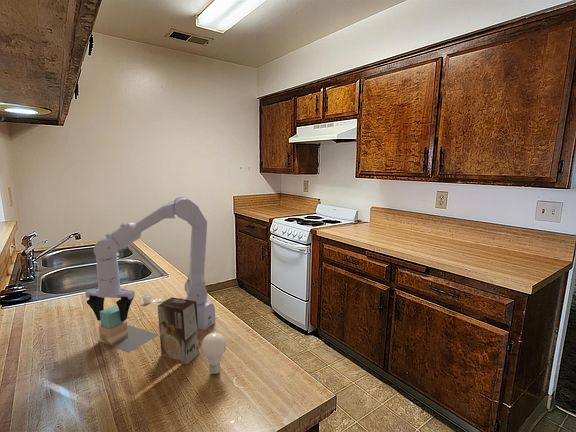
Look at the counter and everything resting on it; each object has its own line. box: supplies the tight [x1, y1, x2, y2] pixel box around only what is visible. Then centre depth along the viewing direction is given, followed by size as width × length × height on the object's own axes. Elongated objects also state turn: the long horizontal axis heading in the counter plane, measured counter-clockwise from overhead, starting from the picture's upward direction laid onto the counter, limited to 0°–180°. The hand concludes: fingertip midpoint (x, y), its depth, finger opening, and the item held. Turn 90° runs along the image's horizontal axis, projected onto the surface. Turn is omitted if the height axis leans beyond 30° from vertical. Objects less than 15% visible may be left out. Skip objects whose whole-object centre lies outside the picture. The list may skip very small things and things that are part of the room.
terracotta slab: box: [98, 320, 128, 338], centre depth 99 cm, size 6×6×2 cm
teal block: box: [100, 305, 124, 329], centre depth 98 cm, size 4×4×4 cm
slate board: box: [97, 324, 160, 353], centre depth 100 cm, size 14×11×1 cm
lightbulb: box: [200, 332, 227, 375], centre depth 84 cm, size 6×6×11 cm
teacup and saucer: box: [139, 294, 163, 305], centre depth 127 cm, size 9×8×4 cm
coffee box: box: [157, 296, 201, 365], centre depth 91 cm, size 9×6×16 cm
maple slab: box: [98, 330, 128, 346], centre depth 99 cm, size 6×6×2 cm
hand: (112, 319), depth 99 cm, fingers open, 7 cm apart
